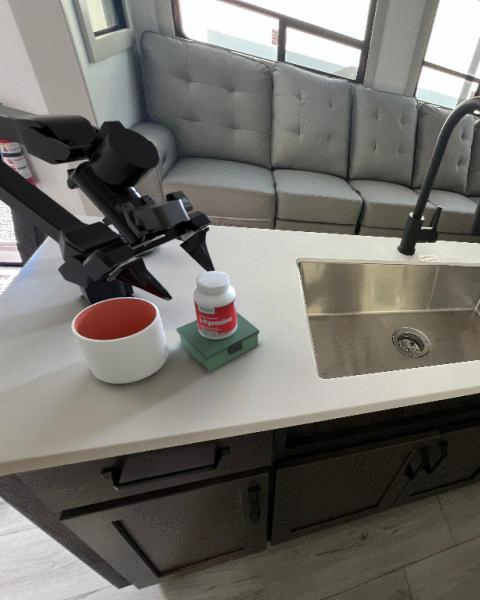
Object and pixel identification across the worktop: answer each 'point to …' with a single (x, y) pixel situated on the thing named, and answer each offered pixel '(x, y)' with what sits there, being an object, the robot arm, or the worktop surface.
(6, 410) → the worktop surface
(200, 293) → the pill bottle
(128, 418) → the worktop surface
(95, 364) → the cup
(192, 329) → the lunchbox
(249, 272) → the worktop surface
